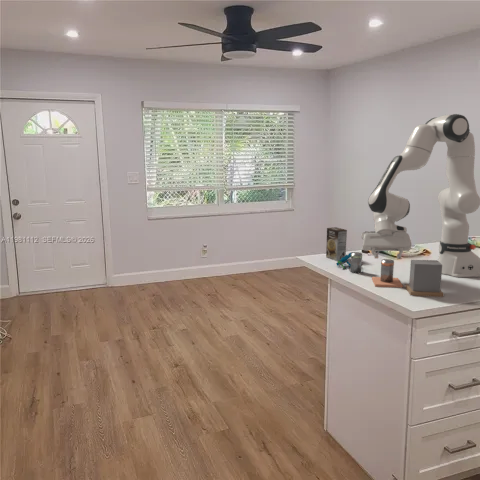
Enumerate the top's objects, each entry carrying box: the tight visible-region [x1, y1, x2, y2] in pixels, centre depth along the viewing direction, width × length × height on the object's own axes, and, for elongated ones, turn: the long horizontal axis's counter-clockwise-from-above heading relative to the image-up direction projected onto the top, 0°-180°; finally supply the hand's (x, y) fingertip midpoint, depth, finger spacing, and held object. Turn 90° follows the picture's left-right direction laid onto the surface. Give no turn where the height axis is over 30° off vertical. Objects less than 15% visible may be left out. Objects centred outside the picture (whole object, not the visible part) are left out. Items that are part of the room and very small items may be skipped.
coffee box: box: [325, 226, 348, 262], centre depth 225 cm, size 9×6×16 cm
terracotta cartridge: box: [380, 258, 395, 283], centre depth 182 cm, size 5×5×9 cm
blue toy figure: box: [336, 251, 353, 269], centre depth 209 cm, size 11×6×10 cm
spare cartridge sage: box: [349, 251, 363, 274], centre depth 200 cm, size 5×5×9 cm
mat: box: [371, 276, 404, 288], centre depth 182 cm, size 11×11×1 cm
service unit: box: [404, 259, 444, 298], centre depth 169 cm, size 12×10×12 cm
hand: (387, 258), depth 183 cm, fingers open, 8 cm apart
